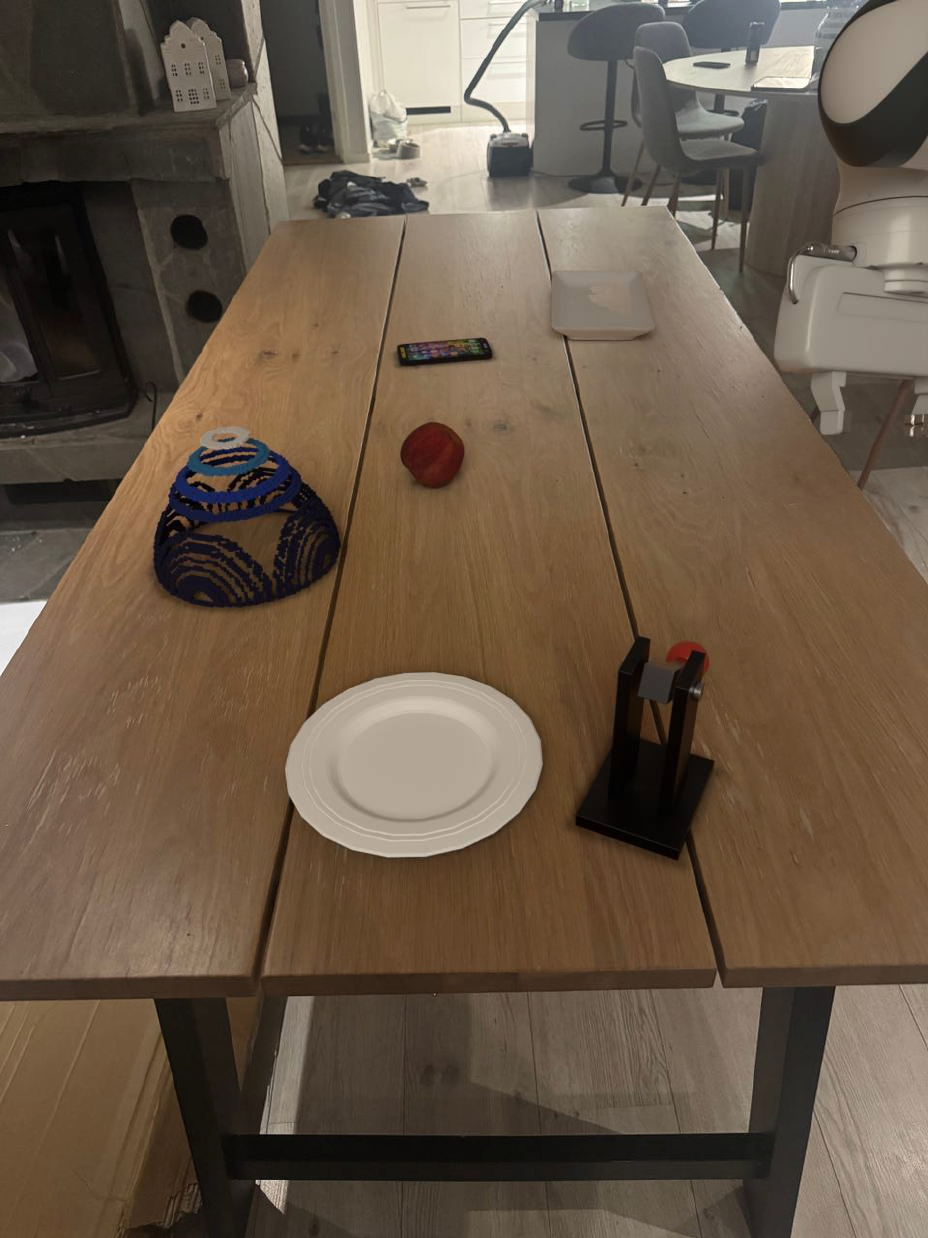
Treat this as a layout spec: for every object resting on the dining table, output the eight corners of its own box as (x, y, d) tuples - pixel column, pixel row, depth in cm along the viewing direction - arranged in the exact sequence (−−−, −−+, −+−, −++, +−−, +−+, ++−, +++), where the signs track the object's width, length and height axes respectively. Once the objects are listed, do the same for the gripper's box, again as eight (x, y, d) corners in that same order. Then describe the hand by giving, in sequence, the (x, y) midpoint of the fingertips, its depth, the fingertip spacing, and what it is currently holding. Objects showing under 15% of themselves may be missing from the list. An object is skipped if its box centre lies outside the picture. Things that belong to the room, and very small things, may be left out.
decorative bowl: (288, 621, 93) (265, 495, 85) (120, 590, 99) (82, 469, 90) (367, 523, 108) (354, 407, 100) (217, 501, 114) (193, 390, 105)
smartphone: (493, 353, 147) (399, 361, 146) (493, 359, 148) (400, 367, 146) (486, 336, 154) (395, 344, 152) (486, 342, 154) (396, 349, 153)
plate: (519, 675, 85) (519, 659, 84) (566, 854, 69) (567, 837, 67) (291, 699, 84) (288, 683, 82) (283, 889, 67) (279, 872, 66)
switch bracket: (618, 741, 78) (630, 609, 70) (713, 771, 75) (737, 635, 67) (575, 825, 71) (582, 688, 63) (677, 861, 68) (699, 722, 60)
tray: (640, 287, 175) (642, 268, 173) (654, 347, 150) (656, 326, 148) (550, 288, 177) (551, 269, 174) (549, 347, 151) (550, 326, 149)
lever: (666, 673, 77) (675, 633, 77) (707, 684, 76) (716, 644, 75) (626, 700, 65) (637, 654, 65) (673, 714, 64) (685, 667, 63)
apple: (457, 500, 112) (454, 439, 107) (395, 495, 113) (390, 435, 109) (470, 471, 118) (468, 412, 113) (411, 467, 119) (406, 409, 114)
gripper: (826, 228, 64) (813, 432, 66) (1013, 258, 73) (996, 436, 75) (759, 247, 70) (750, 434, 72) (941, 272, 79) (927, 438, 81)
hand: (877, 435), depth 74 cm, fingers open, 8 cm apart
